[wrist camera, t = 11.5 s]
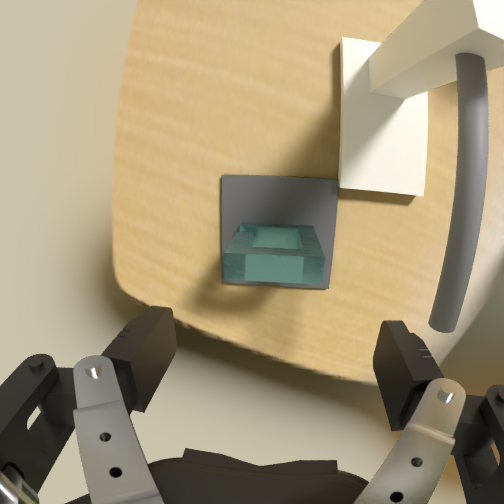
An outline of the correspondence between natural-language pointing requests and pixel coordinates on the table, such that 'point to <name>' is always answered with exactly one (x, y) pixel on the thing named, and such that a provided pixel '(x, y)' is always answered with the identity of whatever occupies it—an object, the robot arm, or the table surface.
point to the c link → (275, 254)
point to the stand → (424, 120)
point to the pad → (280, 212)
